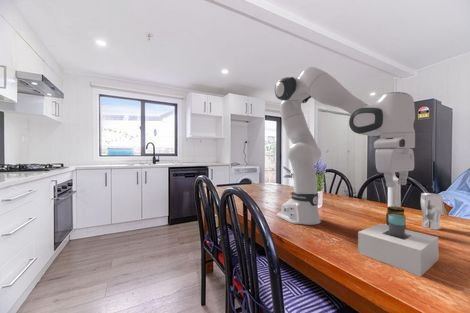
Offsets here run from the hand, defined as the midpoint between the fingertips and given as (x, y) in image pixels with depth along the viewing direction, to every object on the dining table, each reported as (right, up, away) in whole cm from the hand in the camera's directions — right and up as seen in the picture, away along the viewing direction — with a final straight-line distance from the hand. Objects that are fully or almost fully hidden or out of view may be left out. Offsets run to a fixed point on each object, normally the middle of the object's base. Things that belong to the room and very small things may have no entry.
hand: (396, 185), depth 66 cm
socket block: (0, -23, 0) cm, 23 cm away
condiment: (+11, -23, +15) cm, 29 cm away
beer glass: (+36, -23, +26) cm, 50 cm away
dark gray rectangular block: (0, -22, 0) cm, 22 cm away
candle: (+19, -23, +26) cm, 39 cm away
